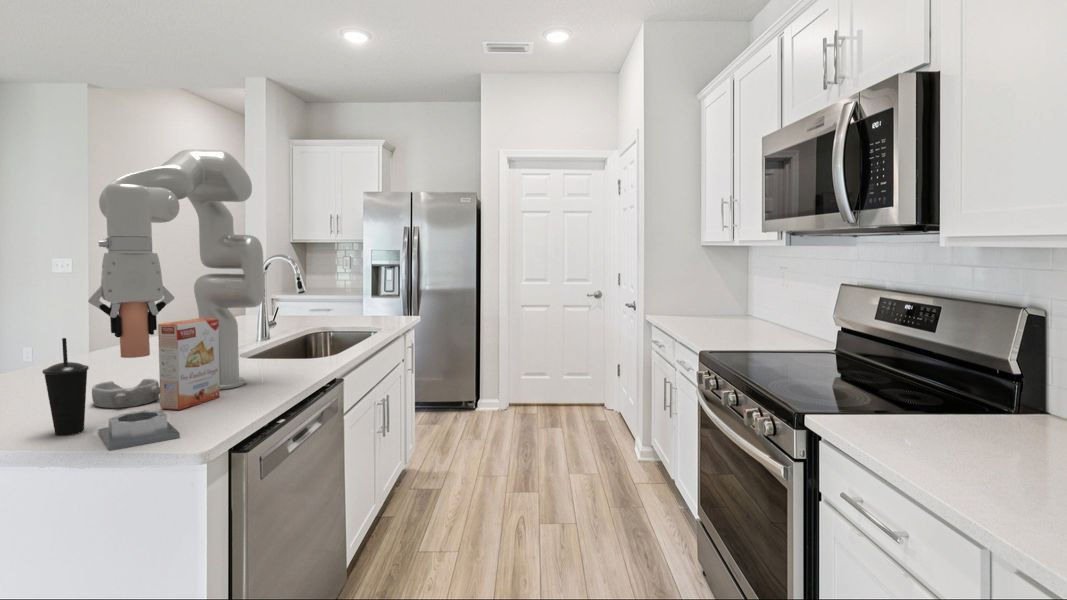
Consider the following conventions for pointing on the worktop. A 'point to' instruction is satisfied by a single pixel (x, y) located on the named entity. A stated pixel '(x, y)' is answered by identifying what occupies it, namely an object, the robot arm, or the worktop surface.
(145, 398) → the dish
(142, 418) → the ring block
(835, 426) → the worktop surface
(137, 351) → the cylinder
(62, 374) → the drinking cup
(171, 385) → the cracker box
